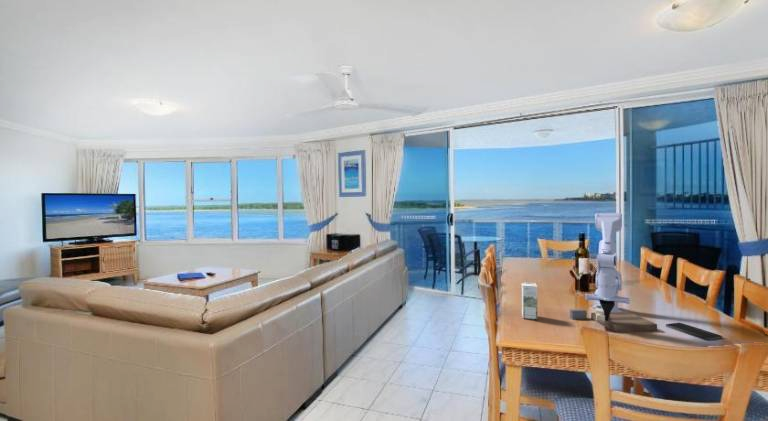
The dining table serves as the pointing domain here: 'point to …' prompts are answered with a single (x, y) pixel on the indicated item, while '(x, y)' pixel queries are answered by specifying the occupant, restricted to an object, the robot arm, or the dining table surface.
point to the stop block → (578, 314)
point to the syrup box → (529, 300)
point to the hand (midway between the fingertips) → (606, 319)
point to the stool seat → (627, 322)
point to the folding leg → (599, 314)
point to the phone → (694, 331)
